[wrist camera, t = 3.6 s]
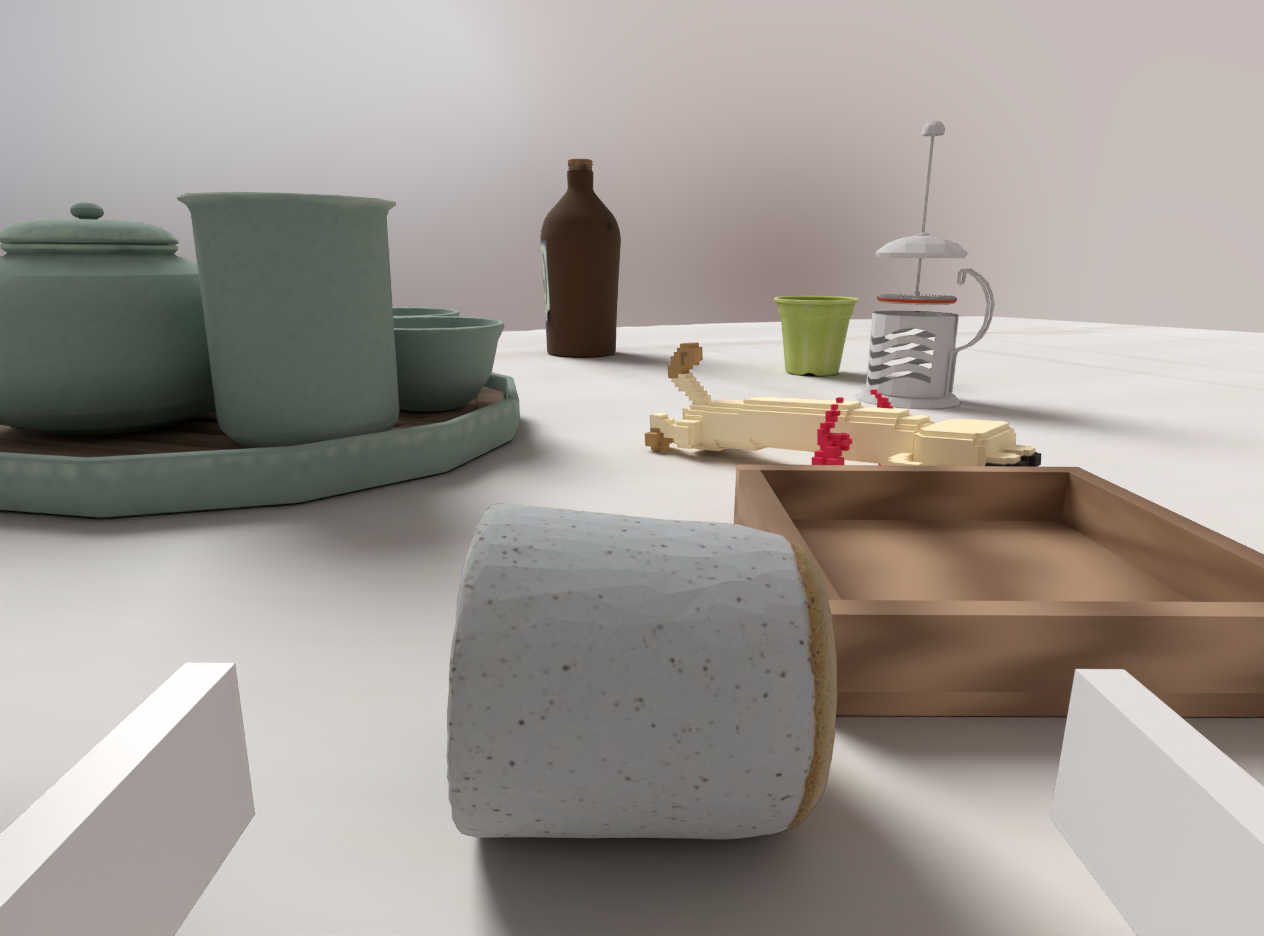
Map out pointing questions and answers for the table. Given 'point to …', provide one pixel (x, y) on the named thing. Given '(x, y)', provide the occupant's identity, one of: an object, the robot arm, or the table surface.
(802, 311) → the plant pot
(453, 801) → the ceramic mug
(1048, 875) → the table surface
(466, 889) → the table surface
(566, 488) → the table surface
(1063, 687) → the tray
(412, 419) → the tea set
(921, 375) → the french press
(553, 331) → the olive oil
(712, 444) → the cat figure
